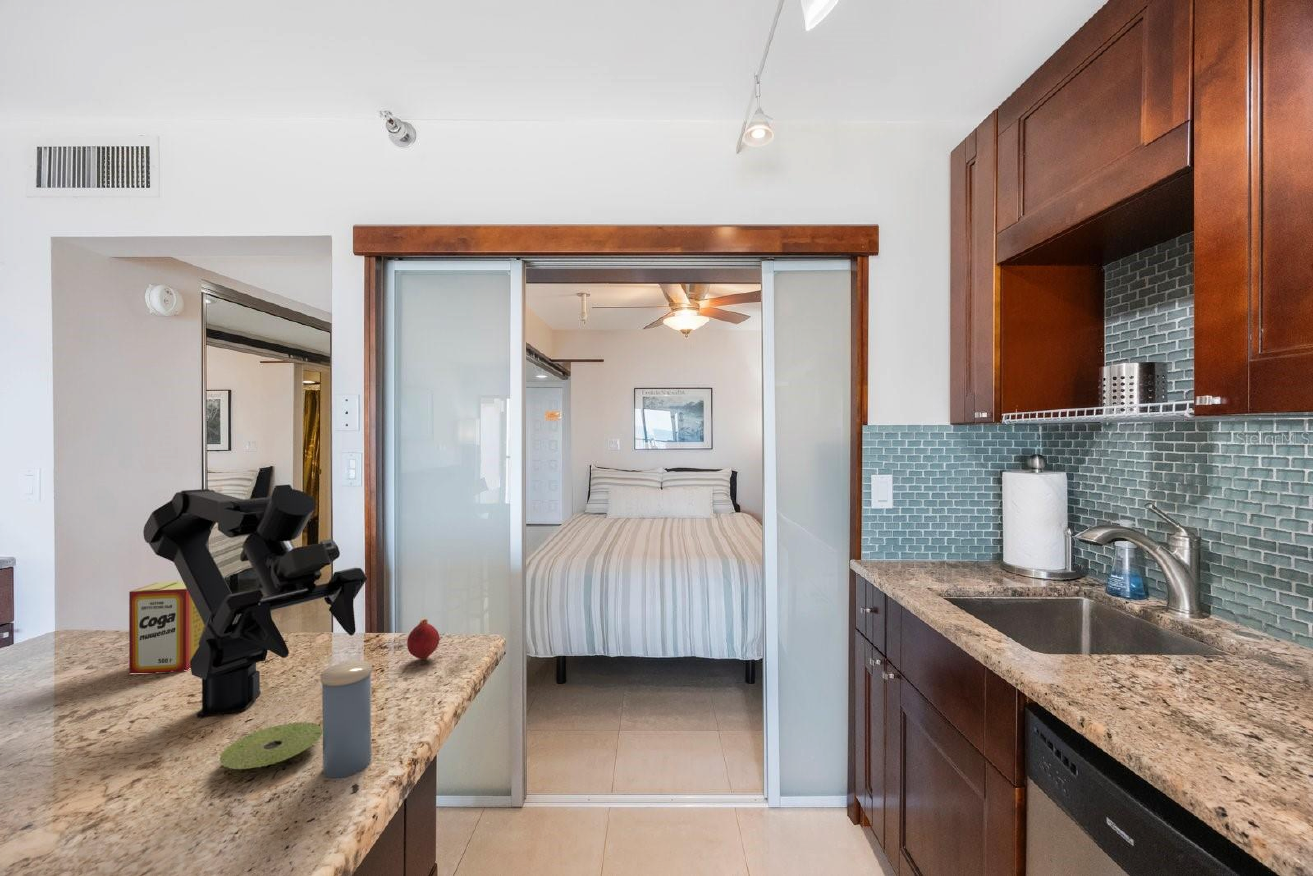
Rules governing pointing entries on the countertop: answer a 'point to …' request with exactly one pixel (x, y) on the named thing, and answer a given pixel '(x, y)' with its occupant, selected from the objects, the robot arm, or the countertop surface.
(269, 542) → the robot arm
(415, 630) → the onion
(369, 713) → the canister
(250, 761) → the mat
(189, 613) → the baking soda box
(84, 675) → the countertop surface
